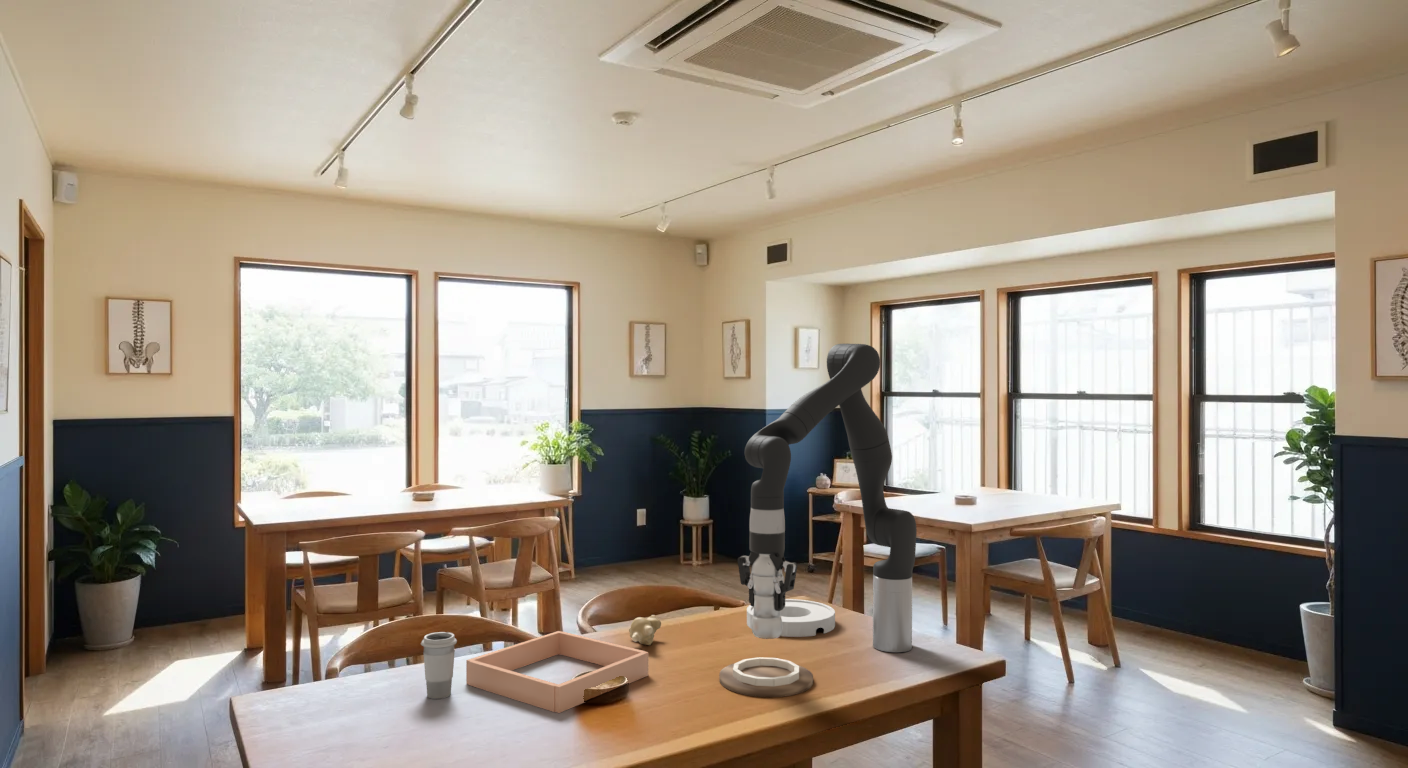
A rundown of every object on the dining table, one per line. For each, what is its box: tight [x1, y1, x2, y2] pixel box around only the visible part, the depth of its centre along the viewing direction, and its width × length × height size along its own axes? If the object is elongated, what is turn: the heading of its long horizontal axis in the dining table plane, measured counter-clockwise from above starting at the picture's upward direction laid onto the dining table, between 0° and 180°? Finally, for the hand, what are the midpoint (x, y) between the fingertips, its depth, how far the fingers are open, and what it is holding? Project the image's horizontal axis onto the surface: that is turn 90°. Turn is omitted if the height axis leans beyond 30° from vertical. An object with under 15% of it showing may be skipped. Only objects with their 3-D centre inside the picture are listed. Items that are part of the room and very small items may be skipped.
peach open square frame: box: [465, 630, 649, 714], centre depth 191 cm, size 27×27×5 cm
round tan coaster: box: [718, 662, 814, 698], centre depth 191 cm, size 20×20×1 cm
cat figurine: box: [628, 614, 662, 646], centre depth 216 cm, size 8×7×12 cm
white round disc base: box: [746, 598, 836, 638], centre depth 235 cm, size 23×23×4 cm
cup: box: [420, 631, 458, 700], centre depth 182 cm, size 7×7×12 cm
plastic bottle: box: [750, 554, 783, 640], centre depth 191 cm, size 6×7×20 cm
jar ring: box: [733, 656, 799, 686], centre depth 191 cm, size 14×14×2 cm
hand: (766, 607), depth 191 cm, fingers closed on plastic bottle, 5 cm apart
